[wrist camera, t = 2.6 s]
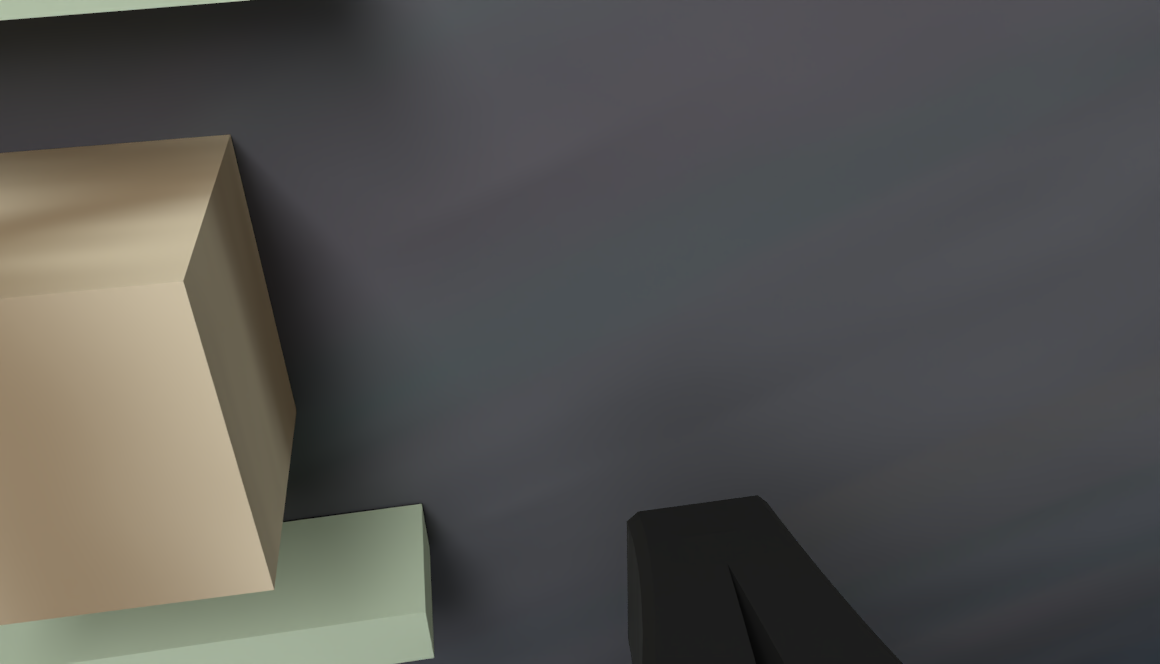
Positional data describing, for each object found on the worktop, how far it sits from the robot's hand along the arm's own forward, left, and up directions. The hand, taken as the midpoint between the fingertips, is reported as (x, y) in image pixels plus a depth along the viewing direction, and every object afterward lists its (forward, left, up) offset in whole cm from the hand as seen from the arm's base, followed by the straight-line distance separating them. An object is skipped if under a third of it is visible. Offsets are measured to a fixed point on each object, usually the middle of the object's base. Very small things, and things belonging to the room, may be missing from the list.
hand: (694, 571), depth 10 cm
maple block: (-5, +5, -7) cm, 10 cm away
